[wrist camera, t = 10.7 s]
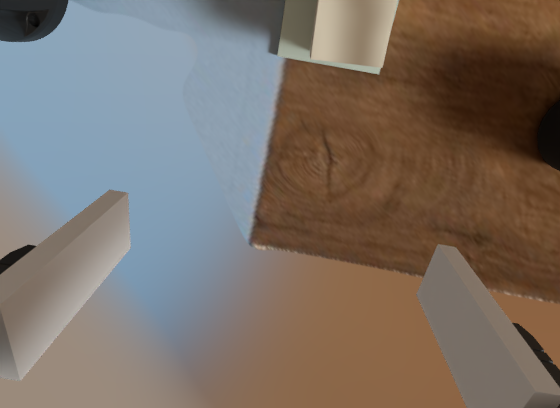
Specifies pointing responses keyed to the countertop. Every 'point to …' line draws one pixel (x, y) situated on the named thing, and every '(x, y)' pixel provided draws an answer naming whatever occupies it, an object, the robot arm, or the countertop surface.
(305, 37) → the board
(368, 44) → the lintel
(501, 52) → the countertop surface
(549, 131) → the coffee jar
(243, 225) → the countertop surface
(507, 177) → the countertop surface
